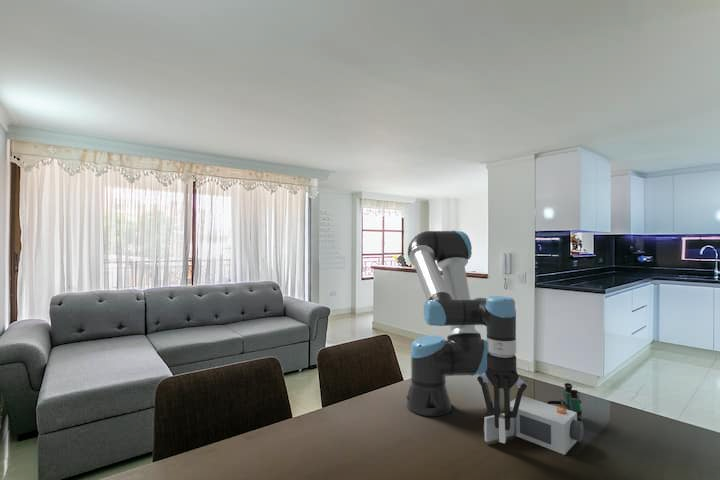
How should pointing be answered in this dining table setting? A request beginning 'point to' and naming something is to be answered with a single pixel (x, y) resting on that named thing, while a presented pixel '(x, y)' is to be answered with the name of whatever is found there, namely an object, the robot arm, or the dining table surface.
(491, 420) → the side door
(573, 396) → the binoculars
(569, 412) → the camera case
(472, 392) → the dining table surface
